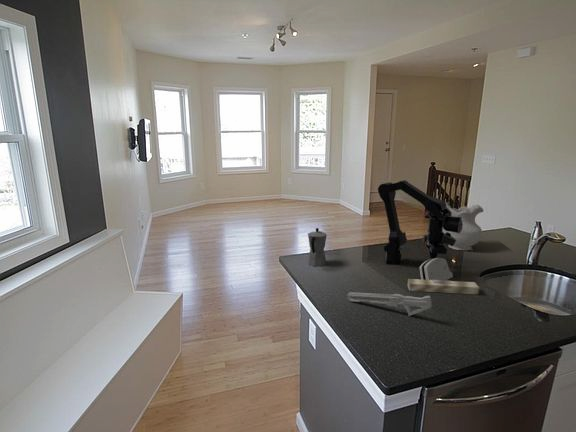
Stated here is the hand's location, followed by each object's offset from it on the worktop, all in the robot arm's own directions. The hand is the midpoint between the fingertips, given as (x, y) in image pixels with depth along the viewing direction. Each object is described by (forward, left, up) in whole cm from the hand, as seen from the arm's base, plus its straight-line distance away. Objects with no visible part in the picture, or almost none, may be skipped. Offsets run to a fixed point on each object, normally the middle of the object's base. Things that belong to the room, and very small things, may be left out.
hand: (432, 262), depth 159 cm
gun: (-24, -38, -6) cm, 45 cm away
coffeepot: (-53, +4, -5) cm, 53 cm away
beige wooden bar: (0, -18, -5) cm, 19 cm away
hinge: (0, -7, -6) cm, 9 cm away
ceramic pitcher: (+22, +39, -5) cm, 45 cm away
